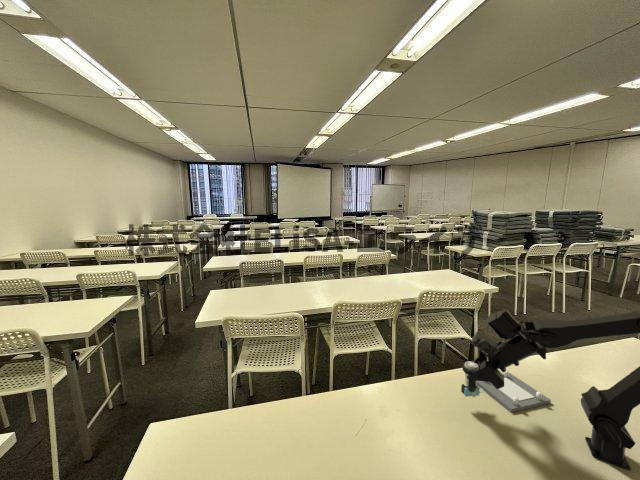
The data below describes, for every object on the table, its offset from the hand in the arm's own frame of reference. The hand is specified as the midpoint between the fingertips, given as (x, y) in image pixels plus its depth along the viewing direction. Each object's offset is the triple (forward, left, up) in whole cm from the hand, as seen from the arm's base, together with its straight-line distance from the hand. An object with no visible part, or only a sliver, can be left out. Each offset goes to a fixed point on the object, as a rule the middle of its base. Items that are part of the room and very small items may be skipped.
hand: (468, 373), depth 81 cm
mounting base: (+14, -12, -11) cm, 22 cm away
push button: (0, -1, -7) cm, 7 cm away
